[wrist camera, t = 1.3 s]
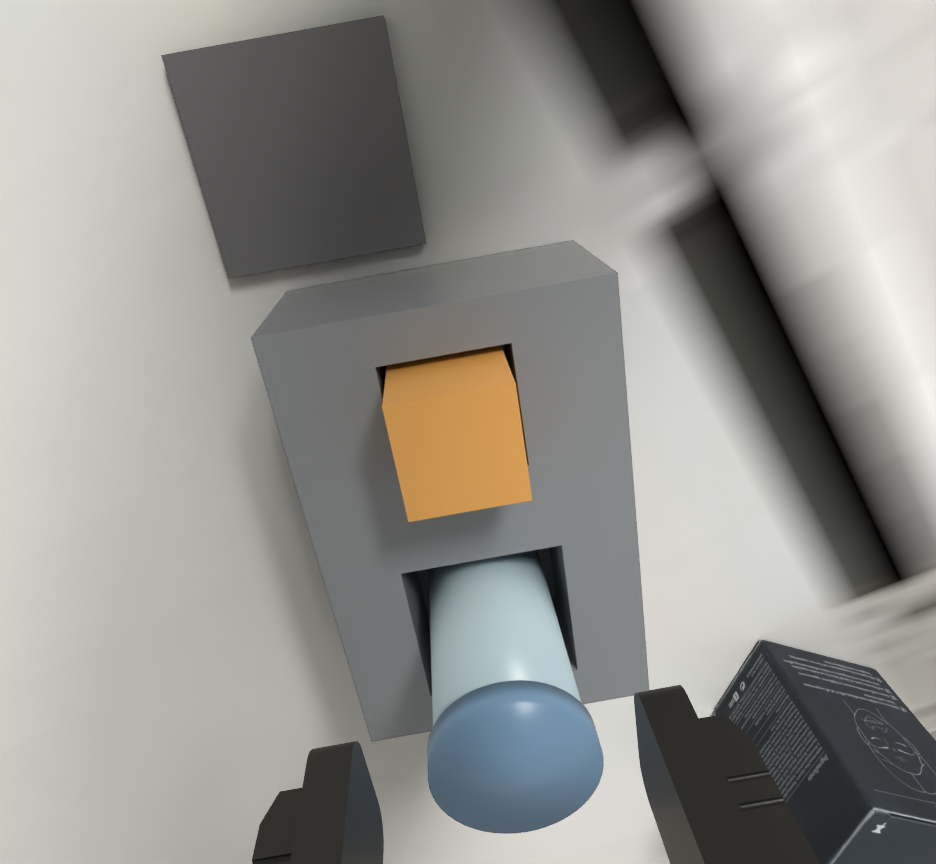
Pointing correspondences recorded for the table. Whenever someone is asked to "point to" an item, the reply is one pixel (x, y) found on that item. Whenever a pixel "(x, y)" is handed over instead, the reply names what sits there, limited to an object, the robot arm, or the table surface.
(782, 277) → the table surface
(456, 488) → the orange rectangular block
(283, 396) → the housing
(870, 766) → the box
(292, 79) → the mat
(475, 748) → the cartridge
